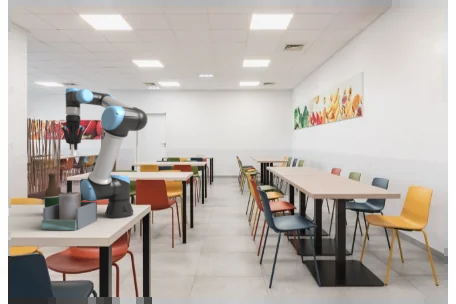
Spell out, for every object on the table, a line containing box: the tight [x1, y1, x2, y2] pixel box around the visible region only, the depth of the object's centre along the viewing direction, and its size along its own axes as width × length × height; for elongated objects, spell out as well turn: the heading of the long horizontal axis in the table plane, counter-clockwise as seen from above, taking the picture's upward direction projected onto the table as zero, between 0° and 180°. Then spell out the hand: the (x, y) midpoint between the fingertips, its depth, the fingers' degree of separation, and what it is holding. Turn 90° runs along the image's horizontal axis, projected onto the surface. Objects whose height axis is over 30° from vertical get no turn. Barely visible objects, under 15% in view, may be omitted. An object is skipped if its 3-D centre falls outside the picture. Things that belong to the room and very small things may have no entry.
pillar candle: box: [59, 191, 82, 220], centre depth 149 cm, size 10×10×15 cm
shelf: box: [41, 218, 77, 231], centre depth 148 cm, size 18×16×4 cm
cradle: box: [42, 201, 98, 231], centre depth 149 cm, size 18×17×10 cm
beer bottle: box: [44, 173, 60, 208], centre depth 173 cm, size 8×8×24 cm
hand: (73, 155), depth 174 cm, fingers closed
